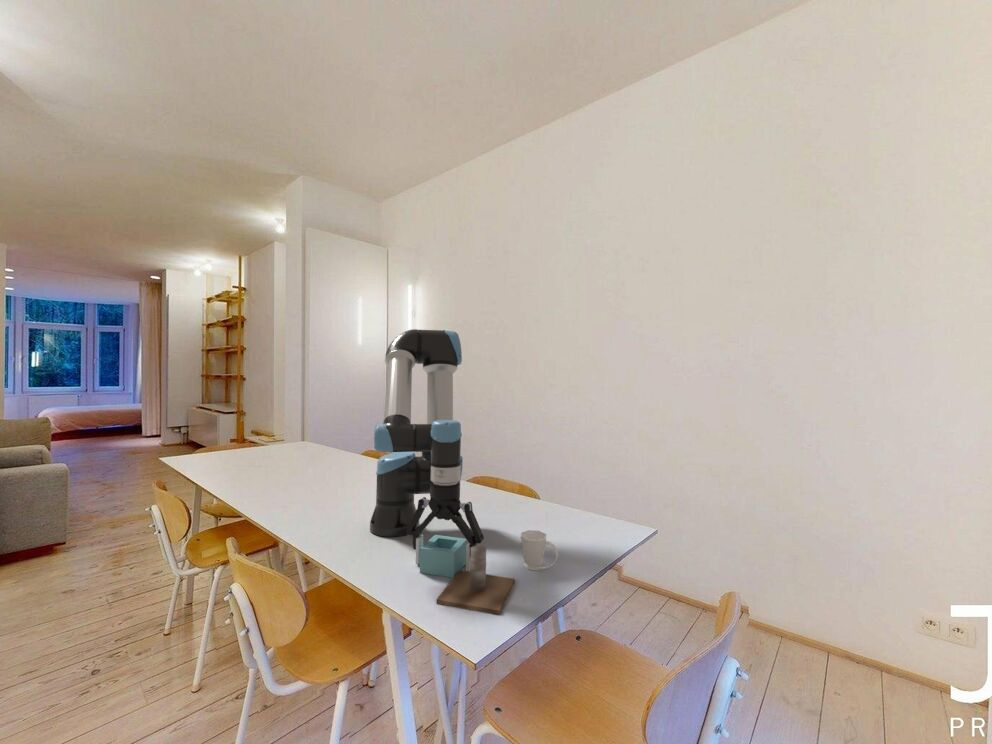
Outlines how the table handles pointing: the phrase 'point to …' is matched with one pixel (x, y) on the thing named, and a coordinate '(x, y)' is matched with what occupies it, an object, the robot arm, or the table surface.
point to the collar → (443, 556)
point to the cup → (535, 549)
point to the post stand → (477, 587)
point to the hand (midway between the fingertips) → (443, 565)
